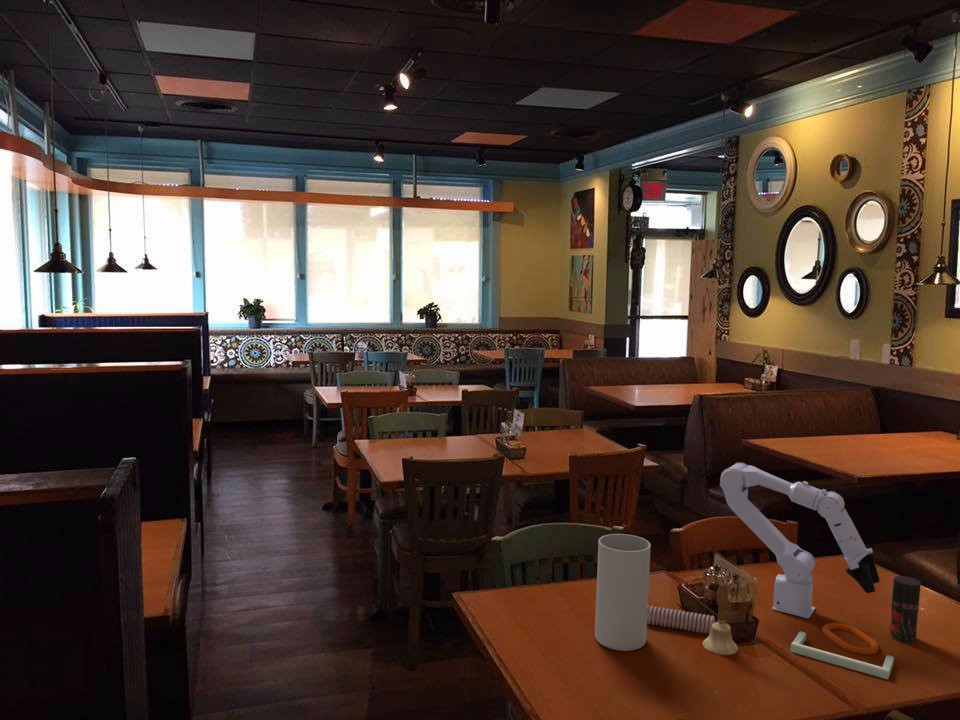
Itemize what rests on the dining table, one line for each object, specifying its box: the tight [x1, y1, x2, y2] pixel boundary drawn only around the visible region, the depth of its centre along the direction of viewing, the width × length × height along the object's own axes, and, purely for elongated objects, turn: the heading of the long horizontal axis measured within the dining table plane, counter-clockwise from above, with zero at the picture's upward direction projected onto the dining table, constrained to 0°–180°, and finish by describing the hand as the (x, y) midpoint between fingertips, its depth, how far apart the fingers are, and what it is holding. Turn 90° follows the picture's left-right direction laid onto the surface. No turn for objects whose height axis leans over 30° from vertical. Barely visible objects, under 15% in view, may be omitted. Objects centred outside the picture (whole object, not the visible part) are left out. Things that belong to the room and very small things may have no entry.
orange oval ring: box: [821, 622, 880, 656], centre depth 189 cm, size 10×2×15 cm
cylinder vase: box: [594, 533, 652, 652], centre depth 186 cm, size 12×12×25 cm
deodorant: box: [888, 575, 922, 644], centre depth 191 cm, size 6×6×15 cm
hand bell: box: [702, 583, 739, 656], centre depth 184 cm, size 8×8×16 cm
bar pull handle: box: [790, 631, 895, 680], centre depth 180 cm, size 21×9×2 cm, turn 54°
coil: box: [647, 604, 716, 635], centre depth 194 cm, size 5×5×18 cm
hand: (873, 587), depth 195 cm, fingers open, 7 cm apart
